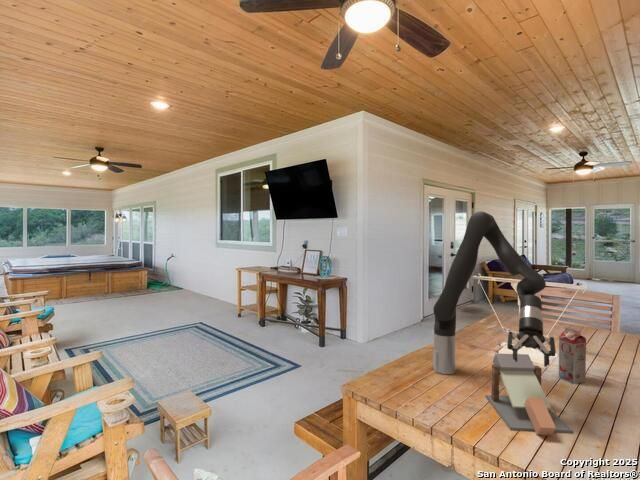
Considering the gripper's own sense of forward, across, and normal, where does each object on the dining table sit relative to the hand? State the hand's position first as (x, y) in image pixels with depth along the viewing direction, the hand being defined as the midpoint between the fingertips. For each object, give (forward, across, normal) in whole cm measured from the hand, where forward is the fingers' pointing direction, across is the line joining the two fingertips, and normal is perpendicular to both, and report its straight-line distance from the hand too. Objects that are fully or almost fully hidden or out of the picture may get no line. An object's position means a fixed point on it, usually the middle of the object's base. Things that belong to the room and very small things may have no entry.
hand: (530, 363), depth 117 cm
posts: (+6, -4, +22) cm, 23 cm away
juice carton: (-18, +16, +46) cm, 52 cm away
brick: (+10, +1, +8) cm, 13 cm away
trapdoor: (+2, -4, +15) cm, 15 cm away
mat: (+11, -2, +17) cm, 20 cm away
